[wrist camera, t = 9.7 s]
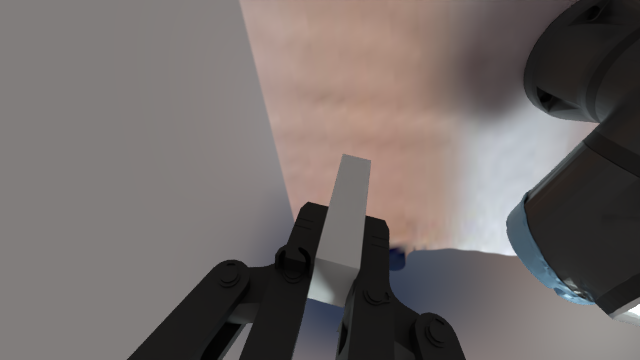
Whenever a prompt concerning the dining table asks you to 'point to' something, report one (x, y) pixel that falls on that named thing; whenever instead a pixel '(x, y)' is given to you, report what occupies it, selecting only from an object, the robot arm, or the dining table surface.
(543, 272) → the robot arm
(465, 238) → the dining table surface
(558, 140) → the dining table surface
